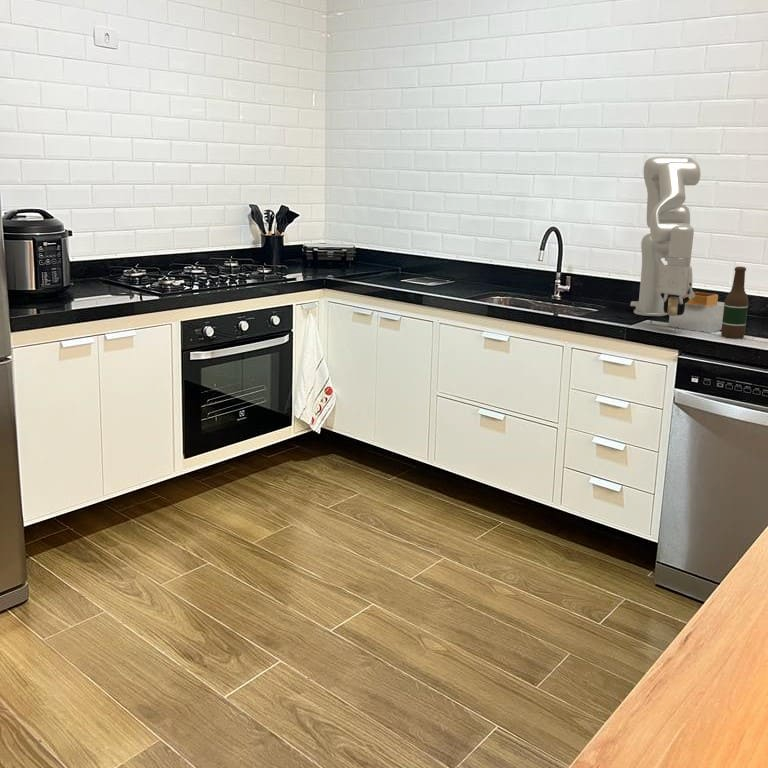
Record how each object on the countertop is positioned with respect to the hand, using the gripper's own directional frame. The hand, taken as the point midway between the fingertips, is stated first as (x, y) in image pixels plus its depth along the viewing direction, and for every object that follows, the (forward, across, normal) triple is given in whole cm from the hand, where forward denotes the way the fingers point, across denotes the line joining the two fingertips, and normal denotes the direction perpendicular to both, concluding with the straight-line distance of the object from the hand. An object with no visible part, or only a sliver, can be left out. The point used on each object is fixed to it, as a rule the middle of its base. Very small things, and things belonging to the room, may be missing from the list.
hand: (673, 313), depth 296 cm
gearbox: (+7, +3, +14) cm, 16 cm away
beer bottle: (+7, +19, +8) cm, 21 cm away
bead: (+1, 0, 0) cm, 1 cm away
